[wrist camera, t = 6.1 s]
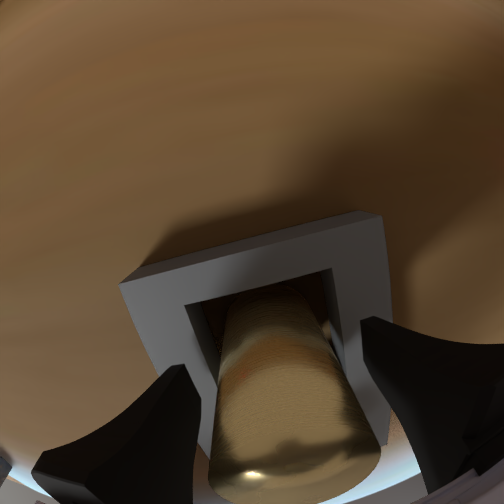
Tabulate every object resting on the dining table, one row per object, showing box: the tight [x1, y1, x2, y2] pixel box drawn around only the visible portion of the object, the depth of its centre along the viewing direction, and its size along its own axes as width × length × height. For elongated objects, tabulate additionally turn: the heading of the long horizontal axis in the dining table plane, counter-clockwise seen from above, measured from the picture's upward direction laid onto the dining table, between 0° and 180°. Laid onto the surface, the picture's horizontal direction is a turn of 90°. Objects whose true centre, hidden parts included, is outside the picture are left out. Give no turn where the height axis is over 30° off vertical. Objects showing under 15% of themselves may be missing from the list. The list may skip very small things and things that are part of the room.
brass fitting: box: [208, 283, 381, 504], centre depth 10 cm, size 4×4×9 cm
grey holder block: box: [118, 210, 393, 460], centre depth 12 cm, size 15×11×6 cm
